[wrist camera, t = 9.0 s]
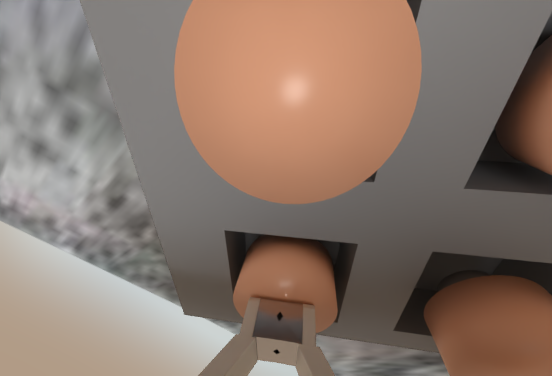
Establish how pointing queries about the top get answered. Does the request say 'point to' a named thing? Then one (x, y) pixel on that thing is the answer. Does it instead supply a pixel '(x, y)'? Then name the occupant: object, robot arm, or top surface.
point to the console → (366, 196)
